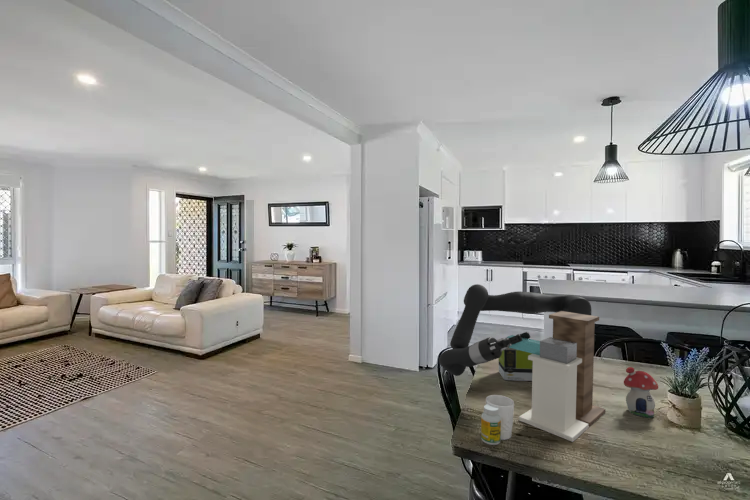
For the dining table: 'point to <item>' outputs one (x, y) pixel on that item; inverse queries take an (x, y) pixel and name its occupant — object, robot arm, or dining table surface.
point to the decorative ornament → (640, 393)
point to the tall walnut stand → (583, 334)
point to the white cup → (503, 413)
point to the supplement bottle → (491, 425)
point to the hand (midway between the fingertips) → (524, 336)
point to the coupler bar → (549, 348)
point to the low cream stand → (554, 398)
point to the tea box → (515, 365)
